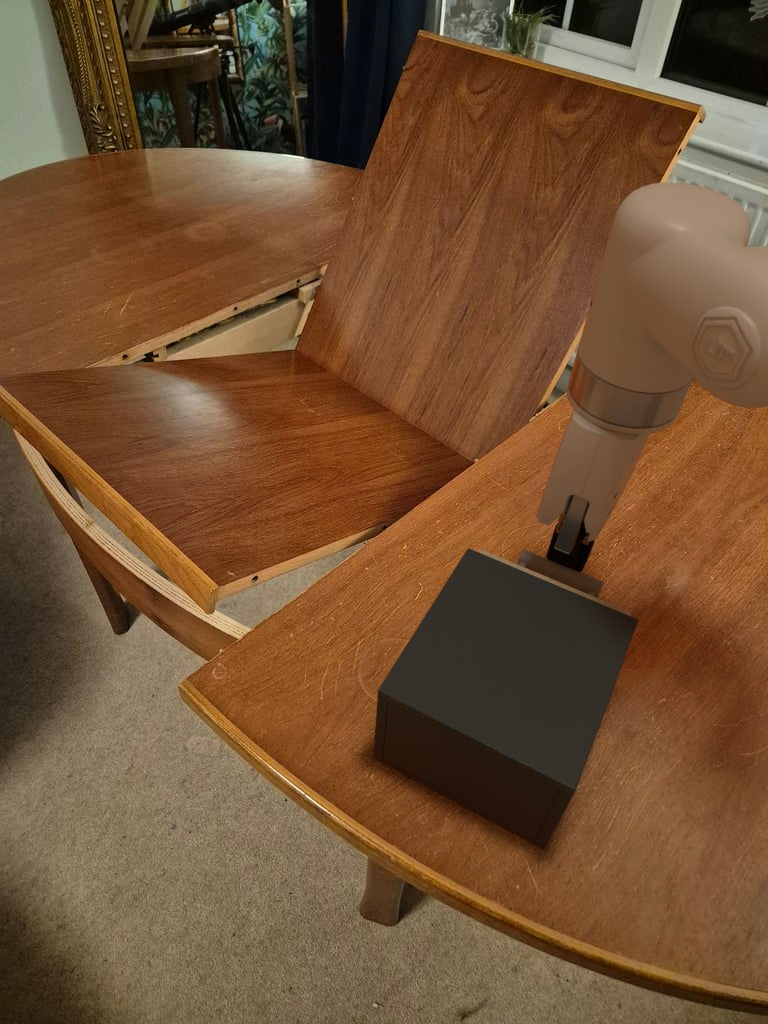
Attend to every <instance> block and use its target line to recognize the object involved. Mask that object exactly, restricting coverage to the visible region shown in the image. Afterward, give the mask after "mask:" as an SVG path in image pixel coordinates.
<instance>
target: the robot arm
mask: <svg viewBox="0 0 768 1024" xmlns="http://www.w3.org/2000/svg"><path fill="white" fill-rule="evenodd" d="M751 232H752V226H751V221H750V217H749V215H748V213H747V212H746V211H745V209H744V207H742V206H741V205H740V203H738V202H737V201H736V200H734V199H733V198H731V197H730V196H728V195H727V194H723V193H722V192H720V191H717V190H714V189H712V188H708V187H705V186H700V185H698V184H692V183H686V182H685V183H684V182H655V183H650V184H647V185H643V186H641V187H639V188H637V189H635V190H633V191H631V192H630V193H629V194H628V195H627V196H626V197H625V198H624V199H623V201H622V202H621V203H620V205H619V207H618V209H617V210H616V212H615V215H614V218H613V221H612V224H611V227H610V231H609V236H608V237H607V241H606V245H605V248H604V252H603V255H602V256H603V257H602V260H601V263H600V267H599V271H598V275H597V278H596V282H595V284H594V285H595V286H594V288H593V293H592V297H591V300H590V303H589V307H588V311H587V313H586V318H585V321H584V324H583V329H582V332H581V336H580V339H579V343H578V347H577V350H576V353H575V358H574V362H573V365H572V369H571V373H570V375H569V380H568V383H567V387H566V397H567V400H568V402H569V404H570V405H571V407H572V408H573V410H572V412H571V415H570V417H569V420H568V422H567V425H566V427H565V430H564V432H563V435H562V438H561V440H560V442H559V446H558V448H557V452H556V454H555V457H554V461H553V463H552V466H551V469H550V471H549V475H548V478H547V481H546V483H545V487H544V489H543V493H542V496H541V499H540V502H539V505H538V508H537V511H536V514H535V515H536V519H537V521H538V523H541V524H543V525H545V526H549V525H551V524H552V523H553V522H555V521H556V520H557V523H556V525H555V526H554V529H553V533H552V535H551V539H550V542H549V545H548V548H547V552H546V554H545V558H546V559H549V560H551V561H553V562H556V563H558V564H561V565H563V566H565V567H568V568H570V569H573V570H575V571H578V572H580V573H583V570H584V568H585V567H586V564H587V562H588V560H589V557H590V555H591V552H592V550H593V547H594V544H595V542H596V540H598V538H599V536H600V534H601V533H602V531H603V529H604V527H605V526H606V524H607V523H608V520H609V519H610V517H611V515H612V513H613V511H614V510H615V508H616V506H617V505H618V502H619V501H620V499H621V497H622V495H623V493H624V491H625V489H626V487H627V486H628V483H629V482H630V480H631V477H632V476H633V474H634V472H635V469H636V467H637V464H638V463H639V460H640V458H641V455H642V453H643V450H644V449H645V446H646V444H647V441H648V440H649V437H650V434H655V433H658V432H662V431H664V430H666V429H667V428H669V427H670V426H671V425H673V423H674V422H675V421H676V419H677V417H678V415H679V412H680V409H681V407H682V405H683V402H684V401H685V398H686V396H687V393H688V391H689V388H690V387H691V383H692V381H695V382H696V384H698V385H699V386H700V387H701V388H702V389H704V391H706V392H708V394H710V395H711V396H713V397H715V398H716V399H718V400H720V401H722V402H723V403H726V404H729V405H731V406H735V407H739V408H745V409H760V408H764V407H768V245H763V246H749V244H750V240H751V234H752V233H751Z"/></svg>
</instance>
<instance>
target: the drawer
mask: <svg viewBox="0 0 768 1024" xmlns="http://www.w3.org/2000/svg"><path fill="white" fill-rule="evenodd" d="M477 552H479V553H481V554H484V555H486V556H488V557H491V558H493V559H495V560H498V561H500V562H503V563H505V564H507V565H510V566H512V567H514V568H517V569H519V570H522V571H524V572H526V573H529V574H531V575H533V576H536V577H538V578H541V579H543V580H545V581H548V582H550V583H552V584H555V585H557V586H560V587H562V588H564V589H567V590H569V591H571V592H574V593H576V594H579V595H581V596H583V597H586V598H588V599H590V600H593V601H595V602H598V603H600V604H602V605H605V606H607V607H609V608H612V609H614V610H617V611H619V612H621V613H624V614H626V615H629V616H631V615H632V612H631V611H629V610H628V609H625V608H622V607H620V606H617V605H615V604H613V603H610V602H608V601H605V600H603V599H601V598H599V595H600V593H601V591H602V588H603V586H604V584H605V582H604V581H602V580H600V579H597V578H595V577H592V576H590V575H587V574H585V573H583V572H578V571H575V570H573V569H570V568H568V567H565V566H563V565H561V564H558V563H556V562H553V561H551V560H549V559H547V557H543V556H541V555H539V554H536V553H534V552H532V551H529V550H526V549H523V550H522V551H521V553H520V555H519V557H518V559H517V563H515V562H512V561H510V560H508V559H505V558H503V557H501V556H498V555H495V554H494V553H491V552H489V551H486V550H483V549H482V548H479V549H478V550H477ZM631 617H632V616H631Z"/></svg>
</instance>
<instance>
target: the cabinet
mask: <svg viewBox="0 0 768 1024" xmlns="http://www.w3.org/2000/svg"><path fill="white" fill-rule="evenodd" d="M420 621H421V622H419V624H418V626H417V628H416V629H415V631H414V633H413V634H412V635H411V637H410V639H409V640H408V642H407V643H406V645H405V647H404V648H403V650H402V651H401V653H400V655H399V656H398V658H397V659H396V661H395V662H394V664H393V666H392V667H391V669H390V671H389V672H388V673H387V675H386V677H385V678H384V680H383V682H382V683H381V684H380V686H379V688H378V689H377V699H376V712H375V713H376V714H375V726H374V731H375V732H374V742H373V753H372V754H373V755H372V758H373V759H375V760H377V761H379V762H381V763H382V764H384V765H386V766H388V767H390V768H392V769H394V770H395V771H397V772H398V773H401V774H402V775H405V776H406V777H408V778H410V779H411V780H414V781H416V782H417V783H420V784H421V785H423V786H425V787H427V788H428V789H430V790H433V792H436V793H438V794H440V795H442V796H443V797H445V798H447V799H449V800H450V801H453V802H455V803H456V804H458V805H460V806H462V807H464V808H465V809H467V810H469V811H471V812H473V813H475V814H477V815H478V816H480V817H483V818H484V819H486V820H488V821H490V822H492V823H494V824H496V825H497V826H499V827H501V828H503V829H505V830H507V831H508V832H510V833H511V834H514V835H516V836H518V837H520V838H521V839H524V840H525V841H527V842H529V843H531V844H532V845H535V846H536V847H538V848H540V849H542V850H545V849H546V847H547V845H548V843H549V841H550V839H551V837H552V835H553V834H554V832H555V830H556V829H557V827H558V825H559V823H560V821H561V819H562V817H563V815H564V813H565V811H566V809H567V808H568V806H569V804H570V802H571V800H572V798H573V796H574V794H575V792H576V790H577V787H578V785H579V783H580V780H581V777H582V774H583V773H584V769H585V766H586V763H587V761H588V758H589V755H590V753H591V751H592V748H593V745H594V742H595V739H596V736H597V734H598V731H599V729H600V726H601V723H602V720H603V718H604V715H605V713H606V710H607V707H608V704H609V702H610V699H611V697H612V693H613V691H614V689H615V685H616V683H617V680H618V677H619V675H620V672H621V670H622V669H621V668H622V666H623V664H624V662H625V658H626V656H627V653H628V650H629V648H630V645H631V642H632V639H633V637H634V634H635V631H636V629H637V627H638V624H639V618H637V617H636V618H635V617H633V616H629V615H626V614H624V613H621V612H619V611H617V610H614V609H612V608H609V607H607V606H605V605H602V604H600V603H598V602H595V601H593V600H590V599H588V598H586V597H583V596H581V595H579V594H576V593H574V592H571V591H569V590H567V589H564V588H562V587H560V586H557V585H555V584H552V583H550V582H548V581H545V580H543V579H541V578H538V577H536V576H533V575H531V574H529V573H526V572H524V571H522V570H519V569H517V568H514V567H512V566H510V565H507V564H505V563H503V562H500V561H498V560H495V559H493V558H491V557H488V556H486V555H484V554H481V553H479V552H478V551H476V550H474V549H471V548H470V547H468V548H467V549H466V550H465V552H464V553H463V555H462V557H461V558H460V560H459V561H458V563H457V565H456V566H455V568H454V569H453V571H452V572H451V574H450V575H449V577H448V579H447V580H446V582H445V584H444V585H443V587H442V589H441V590H440V591H439V593H438V594H437V596H436V597H435V599H434V601H433V603H432V604H431V605H430V607H429V609H428V611H427V612H426V613H425V615H424V616H423V618H422V619H421V620H420Z"/></svg>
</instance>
